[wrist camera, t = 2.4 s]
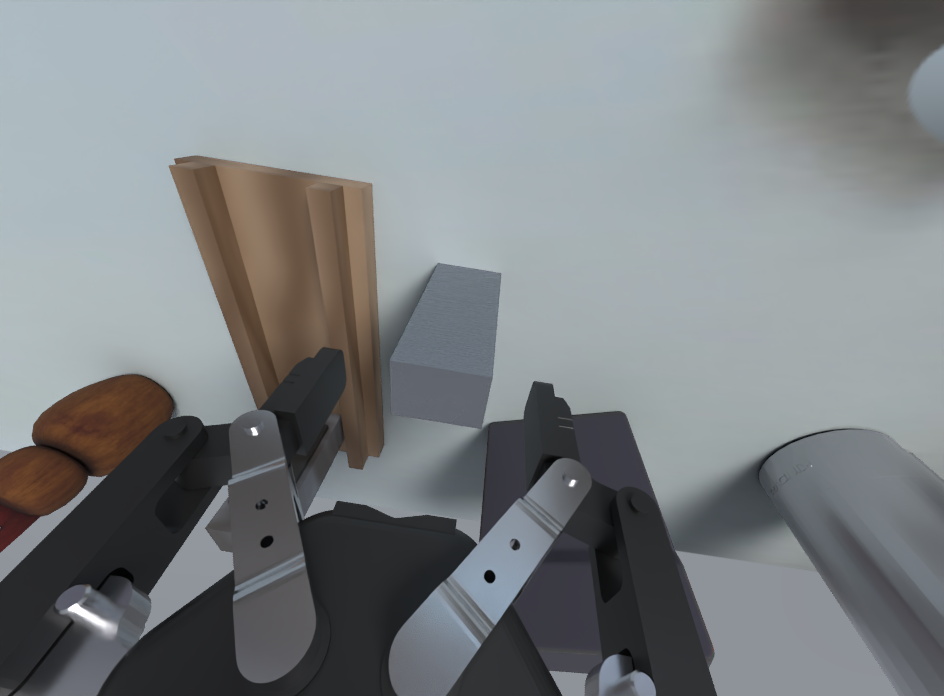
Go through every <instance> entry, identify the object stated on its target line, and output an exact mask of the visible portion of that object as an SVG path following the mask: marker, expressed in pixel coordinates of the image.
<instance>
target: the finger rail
mask: <svg viewBox="0 0 944 696" xmlns="http://www.w3.org/2000/svg"><path fill="white" fill-rule="evenodd" d="M174 160H175V163H176V165H170V166H169V168H170V171H171V174H172V176H173V179H174V182H175V185H176V187H177V190H178V193H179V196H180V198H181V201H182V204H183V207H184V209H185V212H186V215H187V218H188V220H189V223H190V226H191V228H192V231H193V234H194V237H195V239H196V242H197V245H198V248H199V250H200V253H201V256H202V259H203V261H204V264H205V267H206V270H207V272H208V275H209V278H210V280H211V283H212V286H213V289H214V291H215V294H216V297H217V300H218V302H219V305H220V308H221V311H222V313H223V316H224V319H225V321H226V324H227V327H228V330H229V332H230V335H231V338H232V341H233V343H234V346H235V349H236V352H237V354H238V357H239V360H240V363H241V365H242V368H243V371H244V373H245V376H246V379H247V382H248V384H249V387H250V390H251V393H252V395H253V398H254V401H255V404H256V406H257V409H258V410H259V409H260V408H261V406H262V405H263V404H264V403H265V402H266V400H267V399H268V398H269V397H270V396H271V394H272V393H273V392H274V391H275V389H276V388H277V387H278V386H279V385H280V383H281V382H283V380H284V378H285V377H286V376H287V375H289V372H290V371H291V370H292V369H293V368H294V366H295V365H296V364H297V363H299V362H301V361H302V360H304V359H305V358H307V357H311V358H314V357H315V355H316V354H317V353H318V351H319V350H320V349H321V348H322V347H327V348H333V349H340V350H342V351H343V353H344V361H345V369H346V377H347V380H346V386H345V389H344V392H343V393H342V395H341V397H340V399H339V400H338V402H337V404H336V406H335V407H334V409H333V411H332V412H331V414H330V416H329V418H328V419H327V421H326V423H325V425H324V426H323V428H322V430H321V431H320V433H319V435H318V437H317V438H316V440H315V442H314V444H313V445H312V447H311V449H310V450H309V452H308V454H307V456H305V455H299V454H295V456H294V458H293V459H292V461H291V465H292V469H293V473H294V477H295V482H296V486H297V491H298V495H299V499H300V504H301V508H302V511H303V515H304V516H305V514H306V513H307V510H308V508H309V507H310V505H311V503H312V501H313V499H314V497H315V495H316V493H317V491H318V489H319V487H320V485H321V484H322V482H323V480H324V478H325V476H326V474H327V472H328V470H329V468H330V466H331V464H332V462H333V460H334V458H335V456H336V455H337V453H338V451H345V452H347V457H348V463H349V467H350V468H355V469H361V470H362V469H363V467H364V465H365V462H366V460H367V458H368V456H374V457H379V456H380V454H381V451H382V448H383V446H384V430H383V409H382V388H381V366H380V345H379V324H378V303H377V282H376V261H375V240H374V218H373V197H372V184H371V183H365V182H359V181H353V180H346V179H340V178H334V177H328V176H321V175H315V174H309V173H302V172H296V171H290V170H284V169H277V168H271V167H265V166H259V165H252V164H246V163H240V162H234V161H227V160H221V159H215V158H208V157H202V156H189V157H183V158H176V159H174ZM205 529H206V530H207V531H208V533H209V534H210V536H211V537H212V538H213V540H214V541H215V543H216V544H217V545H218V547H219V548H220V550H222V551H227V552H233V550H232V536H231V522H230V508H229V497H228V498H227V500H226V501H225V502H224V503H223V505H222V506H221V508H220V509H219V510H218V512H217V513H216V514H215V516H214V517H213V519H212V520H211V521H210V523H209V524H208V525H207V527H206V528H205Z"/></svg>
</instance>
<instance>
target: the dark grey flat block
mask: <svg viewBox="0 0 944 696" xmlns="http://www.w3.org/2000/svg"><path fill="white" fill-rule="evenodd" d="M572 421H573V426H574V431H575V436H576V441H577V446H578V451H579V456H580V461H581V464H582V465H583V466H584V467H585V468H586V469H587V470H588V472H589V474H590V476H591V478H593V479H594V480H595V481H597V482H599V483H601V484H603V485H605V486H607V487H609V488H611V489H614V490H616V491H619V490H620V489H621V488H623V487H635V488H638V489H640V490H642V491H644V492H645V493H647V494H648V495H649V496H650V497H651V498H652V499H653V500H654V501H655V503H656V504H657V506H658V508H659V505H658V502H657V500H656V497H655V494H654V491H653V489H652V486H651V483H650V480H649V478H648V475H647V472H646V469H645V466H644V464H643V461H642V458H641V455H640V453H639V450H638V447H637V444H636V441H635V439H634V436H633V433H632V430H631V428H630V425H629V422H628V419H627V417H626V415H625V413H623V412H619V411H618V412H606V413H595V414H583V415H572ZM527 493H528V492H527V489H526V466H525V443H524V420H515V421H504V422H494V423H491V424H490V426H489V431H488V443H487V455H486V467H485V479H484V491H483V503H482V515H481V527H480V539H479V542H480V541H481V540H482V539H483V538H484V537H485V536H486V535H487V533H488V532H489V531H490V530H491V529H492V528H493V527H494V525H495V524H496V523H497V522H498V521H499V520H500V519H501V517H502V516H503V515H504V514H505V513H506V512H507V511H508V510H509V508H510V507H511V506H512V505H513V504H514V503H515V502H516V501H517V500H518V499H519V498H520V497H522V498H523V497H524V496H525V495H526V494H527ZM659 510H660V508H659ZM660 513H661V511H660ZM661 517H662V520H663V523H664V526H665V529H666V533H667V536H668V539H669V542H670V546H671V549H672V552H673V555H674V558H675V562H676V565H677V568H678V571H679V575H680V578H681V581H682V584H683V588H684V591H685V594H686V597H687V600H688V604H689V607H690V610H691V613H692V617H693V620H694V623H695V626H696V629H697V633H698V636H699V639H700V642H701V646H702V649H703V652H704V655H705V659H706V662H707V665H708V668H709V666H710V664H711V662H712V660H713V658H714V649H713V645H712V642H711V640H710V637H709V634H708V632H707V629H706V626H705V623H704V620H703V618H702V615H701V612H700V610H699V607H698V604H697V601H696V599H695V596H694V593H693V591H692V588H691V585H690V582H689V580H688V577H687V574H686V572H685V569H684V566H683V564H682V562H681V561H680V559H679V557H678V556H677V554H676V552H675V550H674V547H673V544H672V541H671V539H670V536H669V533H668V530H667V527H666V525H665V522H664V519H663V516H662V514H661ZM514 608H515V610H516V612H517V614H518V616H519V617H520V619H521V621H522V623H523V625H524V627H525V628H526V630H527V632H528V634H529V636H530V637H531V639H532V641H533V643H534V645H535V647H536V648H537V650H538V652H539V654H540V656H541V658H542V659H543V661H544V663H545V665H546V667H547V668H548V670H549V671H562V672H574V673H587V674H588V673H589V672H590V670H591V669H592V668H593V667H595V666H596V665H598V664H599V663H601V662H602V661H603V660H602V651H601V643H600V635H599V627H598V619H597V611H596V602H595V594H594V586H593V578H592V570H591V562H590V553H589V545H587V544H585V543H583V542H581V541H579V540H578V539H576V538H574V537H572V536H570V535H568V534H566V533H564V532H563V533H562V534H561V536H560V537H559V539H558V540H557V542H556V543H555V545H554V546H553V548H552V549H551V551H550V552H549V554H548V555H547V556H546V558H545V559H544V561H543V562H542V564H541V565H540V567H539V568H538V570H537V571H536V573H535V574H534V576H533V577H532V579H531V580H530V582H529V583H528V585H527V586H526V588H525V589H524V591H523V592H522V594H521V595H520V597H519V598H518V600H517V601H516V603H515V604H514Z"/></svg>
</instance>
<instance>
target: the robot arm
mask: <svg viewBox="0 0 944 696" xmlns="http://www.w3.org/2000/svg"><path fill="white" fill-rule="evenodd" d="M346 380H347V377H346V369H345V361H344V353H343V351H342V350H340V349H333V348H327V347H322V348H321V349H320V350H319V351H318V353H317V354H316V355H315V357H314V358H311V357H307V358H305V359H304V360H302V361H301V362H299V363H297V364H296V365H295V366H294V368H293V369H292V370H291V371H290V372H289V375H287V376H286V377H285V378H284V380H283V382H281V383H280V385H279V386H278V387H277V388H276V389H275V391H274V392H273V393H272V394H271V396H270V397H269V398H268V399H267V400H266V402H265V403H264V404H263V405H262V406H261V408H260V409H259V410H255V411H250V412H247V413H245V414H243V415H241V416H240V417H238V418H237V419H236V420H235V421H234V422H233V423H230V424H221V425H211V426H204V425H203V423H202V421H201V420H200V419H199V418H197V417H194V416H181V417H176V418H173V419H170V420H168V421H166V422H164V423H162V424H160V425H159V426H158V427H156V428H155V429H154V430H153V431H152V432H151V433H150V434H149V435H148V436H147V437H146V438H145V439H144V440H143V441H142V442H141V443H140V444H139V445H138V446H137V447H136V448H135V449H134V450H133V451H132V452H131V453H130V454H129V455H128V456H127V457H126V458H125V459H124V460H123V461H122V462H121V463H120V464H119V465H118V466H117V467H116V468H115V469H114V470H113V471H112V472H111V473H110V474H109V475H108V476H107V477H106V478H105V479H104V480H103V481H102V482H101V483H100V484H99V485H98V486H97V487H96V488H95V489H94V490H93V491H92V492H91V493H90V494H89V495H88V496H87V497H86V498H85V499H84V500H83V501H82V502H81V503H80V504H79V505H78V506H77V507H76V508H75V509H74V510H73V511H72V512H71V513H70V514H69V515H68V516H67V517H66V518H65V519H64V520H63V521H62V522H61V523H60V524H59V525H58V526H57V527H56V528H55V529H54V530H53V531H52V532H51V533H49V535H47V537H46V538H44V540H42V542H40V543H39V544H38V545H37V546H36V548H34V549H33V551H32V552H30V553H29V555H27V556H26V558H25V559H24V560H22V561H21V562H20V563H19V564H18V565H17V566H16V567H15V568H14V569H13V570H12V571H11V572H10V573H9V574H8V575H7V576H6V577H5V578H4V579H3V581H1V582H0V696H562V694H561V692H560V690H559V689H558V687H557V685H556V683H555V681H554V679H553V678H552V676H551V674H550V672H549V670H548V668H547V667H546V665H545V663H544V661H543V659H542V658H541V656H540V654H539V652H538V650H537V648H536V647H535V645H534V643H533V641H532V639H531V637H530V636H529V634H528V632H527V630H526V628H525V627H524V625H523V623H522V621H521V619H520V617H519V616H518V614H517V612H516V610H515V608H514V604H515V603H516V601H517V600H518V598H519V597H520V595H521V594H522V592H523V591H524V589H525V588H526V586H527V585H528V583H529V582H530V580H531V579H532V577H533V576H534V574H535V573H536V571H537V570H538V568H539V567H540V565H541V564H542V562H543V561H544V559H545V558H546V556H547V555H548V554H549V552H550V551H551V549H552V548H553V546H554V545H555V543H556V542H557V540H558V539H559V537H560V536H561V534H562V533H563V532H564V533H566V534H568V535H570V536H572V537H574V538H576V539H578V540H579V541H581V542H583V543H585V544H587V545H589V553H590V562H591V570H592V578H593V586H594V594H595V602H596V611H597V619H598V627H599V635H600V643H601V651H602V660H603V661H602V662H601V663H599V664H598V665H596V666H595V667H593V668H592V669H591V670H590V672H589V673H588V675H587V678H586V682H585V696H717V694H716V691H715V688H714V684H713V681H712V678H711V675H710V672H709V668H708V665H707V662H706V659H705V655H704V652H703V649H702V646H701V642H700V639H699V636H698V633H697V629H696V626H695V623H694V620H693V617H692V613H691V610H690V607H689V604H688V600H687V597H686V594H685V591H684V588H683V584H682V581H681V578H680V575H679V571H678V568H677V565H676V562H675V558H674V555H673V552H672V549H671V546H670V542H669V539H668V536H667V533H666V529H665V526H664V523H663V520H662V517H661V513H660V510H659V508H658V506H657V504H656V503H655V501H654V500H653V499H652V498H651V497H650V496H649V495H648V494H647V493H645V492H644V491H642V490H640V489H638V488H635V487H623V488H621V489H620V490H619V491H616V490H614V489H611V488H609V487H607V486H605V485H603V484H601V483H599V482H597V481H595V480H594V479H593V478H591V476H590V474H589V472H588V470H587V469H586V468H585V467H584V466H583V465H582V464H581V461H580V456H579V451H578V446H577V441H576V436H575V431H574V426H573V421H572V416H571V410H570V407H569V406H568V405H567V403H566V402H565V400H564V399H563V398H558V397H555V395H554V389H553V385H552V384H549V383H543V382H537V381H534V382H533V385H532V388H531V391H530V394H529V397H528V400H527V403H526V406H525V411H524V443H525V466H526V489H527V492H528V493H527V494H526V495H525V496H524V497H523V498H522V497H520V498H519V499H518V500H517V501H516V502H515V503H514V504H513V505H512V506H511V507H510V508H509V510H508V511H507V512H506V513H505V514H504V515H503V516H502V517H501V519H500V520H499V521H498V522H497V523H496V524H495V525H494V527H493V528H492V529H491V530H490V531H489V532H488V533H487V535H486V536H485V537H484V538H483V539H482V540H481V541H480V542H479V544H478V545H477V544H476V542H474V540H472V539H471V538H470V537H469V536H468V535H466V534H465V533H463V532H462V531H460V530H457V529H455V528H456V519H449V518H443V517H437V516H430V515H423V516H413V517H404V518H393V517H390V516H388V515H386V514H384V513H382V512H380V511H378V510H375V509H373V508H371V507H369V506H367V505H361V504H354V503H348V502H342V501H337V502H336V505H335V507H334V509H333V510H330V511H325V512H321V513H318V514H315V515H313V516H311V517H308V518H306V519H305V518H304V515H303V511H302V508H301V504H300V499H299V495H298V491H297V486H296V482H295V477H294V473H293V469H292V465H291V461H292V459H293V458H294V456H295V454H299V455H305V456H307V454H308V452H309V450H310V449H311V447H312V445H313V444H314V442H315V440H316V438H317V437H318V435H319V433H320V431H321V430H322V428H323V426H324V425H325V423H326V421H327V419H328V418H329V416H330V414H331V412H332V411H333V409H334V407H335V406H336V404H337V402H338V400H339V399H340V397H341V395H342V393H343V392H344V389H345V386H346ZM759 480H760V483H761V485H762V487H763V488H764V490H765V491H766V493H767V494H768V496H769V497H770V499H771V500H772V502H773V503H774V505H775V507H776V508H777V510H778V511H779V513H780V514H781V516H782V517H783V519H784V520H785V522H786V523H787V525H788V526H789V528H790V530H791V531H792V533H793V534H794V536H795V538H796V539H797V541H798V542H799V544H800V545H801V547H802V548H803V550H804V551H805V553H806V554H807V556H808V557H809V559H810V560H811V562H812V563H813V565H814V566H815V568H816V570H817V571H818V573H819V574H820V575H821V577H822V579H823V580H824V582H825V583H826V585H827V586H828V588H829V589H830V591H831V592H832V594H833V595H834V597H835V599H836V600H837V602H838V603H839V604H840V606H841V608H842V609H843V611H844V612H845V614H846V615H847V617H848V618H849V620H850V621H851V623H852V624H853V626H854V627H855V629H856V631H857V632H858V634H859V635H860V637H861V638H862V640H863V641H864V643H865V644H866V646H867V647H868V649H869V650H870V652H871V653H872V655H873V656H874V658H875V660H876V661H877V662H878V664H879V666H880V667H881V669H882V670H883V672H884V673H885V675H886V676H887V678H888V679H889V681H890V682H891V684H892V685H893V687H894V688H895V690H896V692H897V693H898V695H899V696H944V480H943V479H942V478H941V477H939V476H938V475H937V474H936V473H935V472H934V471H933V470H931V469H930V468H929V467H928V466H927V465H926V464H924V463H923V462H922V461H921V460H920V459H919V458H918V457H916V456H915V455H914V454H913V453H910V452H907V451H906V450H905V449H904V448H902V447H901V446H900V445H899V444H898V443H897V442H896V441H894V440H893V439H892V438H890V437H889V436H887V435H884V434H882V433H879V432H875V431H869V430H853V429H850V430H838V431H831V432H826V433H821V434H817V435H813V436H810V437H807V438H803V439H801V440H799V441H796V442H794V443H791V444H789V445H787V446H786V447H784V448H782V449H780V450H779V451H777V452H776V453H775V454H773V455H772V456H771V457H769V458H768V460H767V461H766V462H765V463H764V464H763V465H762V468H761V470H760V472H759ZM223 485H228V492H229V508H230V522H231V536H232V550H233V564H234V570H233V571H231V572H230V573H229V574H227V575H226V576H225V577H223V578H222V579H220V580H219V581H218V582H216V583H215V584H214V585H212V586H211V587H209V588H208V589H207V590H206V591H204V592H203V593H201V594H200V595H199V596H197V597H196V598H195V599H193V600H192V601H190V602H189V603H188V604H186V605H185V606H183V607H182V608H181V609H179V610H178V611H177V612H175V613H174V614H172V615H171V616H170V617H168V618H167V619H166V620H164V621H163V622H161V623H160V624H159V625H157V626H156V627H155V628H153V629H152V630H151V631H149V632H148V633H147V634H146V635H144V636H143V637H142V638H141V639H140V640H139V638H140V636H141V634H142V633H143V631H144V628H145V623H146V621H147V619H148V617H149V614H150V611H151V600H150V598H149V596H148V595H149V593H150V592H151V590H152V589H153V587H154V586H155V584H156V583H157V581H158V580H159V579H160V577H161V576H162V574H163V573H164V571H165V569H166V568H167V567H168V565H169V564H170V562H171V561H172V559H173V558H174V556H175V555H176V553H177V552H178V551H179V549H180V548H181V546H182V545H183V543H184V542H185V540H186V539H187V537H188V536H189V534H190V533H191V531H192V530H193V529H194V527H195V526H196V524H197V523H198V521H199V519H200V518H201V517H202V515H203V514H204V512H205V511H206V509H207V508H208V506H209V505H210V504H211V502H212V501H213V499H214V498H215V496H216V495H217V493H218V492H219V490H220V489H221V487H222V486H223Z"/></svg>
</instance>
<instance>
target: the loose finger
mask: <svg viewBox="0 0 944 696" xmlns="http://www.w3.org/2000/svg"><path fill="white" fill-rule="evenodd" d="M500 283H501V273H496V272H490V271H484V270H478V269H471V268H465V267H459V266H453V265H447V264H441V263H438V264H437V266H436V268H435V270H434V272H433V274H432V276H431V278H430V280H429V282H428V284H427V286H426V288H425V290H424V292H423V294H422V296H421V298H420V300H419V302H418V304H417V306H416V308H415V310H414V312H413V314H412V316H411V318H410V320H409V322H408V324H407V326H406V328H405V330H404V332H403V334H402V336H401V338H400V340H399V342H398V344H397V346H396V348H395V350H394V352H393V354H392V356H391V358H390V399H391V414H395V415H401V416H407V417H413V418H419V419H425V420H431V421H437V422H443V423H449V424H455V425H461V426H467V427H472V428H478V429H481V428H482V424H483V419H484V414H485V410H486V405H487V401H488V396H489V391H490V387H491V382H492V377H493V365H494V354H495V342H496V330H497V318H498V306H499V295H500Z"/></svg>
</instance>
